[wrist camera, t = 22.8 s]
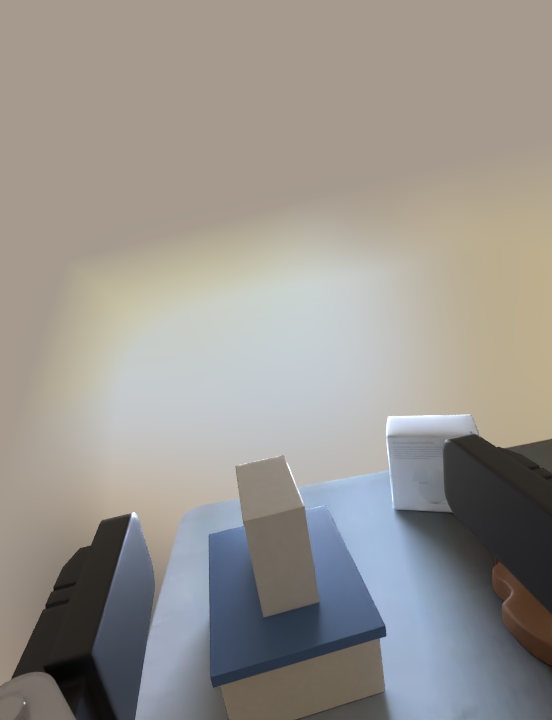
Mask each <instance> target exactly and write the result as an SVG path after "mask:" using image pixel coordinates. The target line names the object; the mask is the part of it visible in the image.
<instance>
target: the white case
mask: <svg viewBox="0 0 552 720" xmlns="http://www.w3.org/2000/svg"><path fill="white" fill-rule="evenodd" d="M236 474H237V481H238V488H239V496H240V503H241V510H242V517H243V524H244V528H245V533H246V538H247V542H248V547H249V552H250V557H251V561H252V566H253V571H254V576H255V580H256V585H257V590H258V595H259V599H260V604H261V609H262V613H263V617H264V618H265V617H268V616H272V615H275V614H279V613H283V612H286V611H290V610H293V609H297V608H301V607H304V606H308V605H311V604H315V603H318V602H320V599H319V593H318V587H317V581H316V574H315V568H314V562H313V555H312V549H311V543H310V537H309V530H308V524H307V518H306V511H305V506H304V503H303V501H302V498H301V496H300V493H299V491H298V488H297V486H296V483H295V481H294V478H293V476H292V473H291V471H290V468H289V466H288V463H287V461H286V458H285V456H284V455H282V456H277V457H273V458H268V459H264V460H260V461H256V462H251V463H247V464H242V465H238V466H236Z"/></svg>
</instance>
